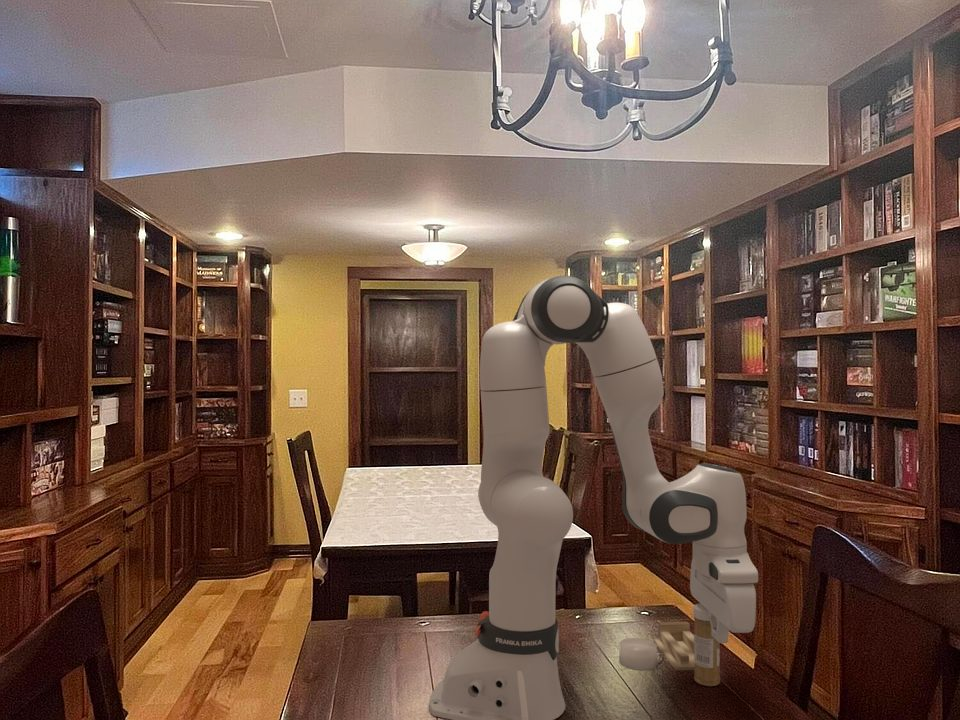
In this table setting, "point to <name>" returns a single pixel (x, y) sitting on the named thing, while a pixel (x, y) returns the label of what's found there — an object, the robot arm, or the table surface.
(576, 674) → the table surface
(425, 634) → the table surface
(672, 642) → the u rest
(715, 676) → the sprinkles bottle
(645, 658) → the cream dish
